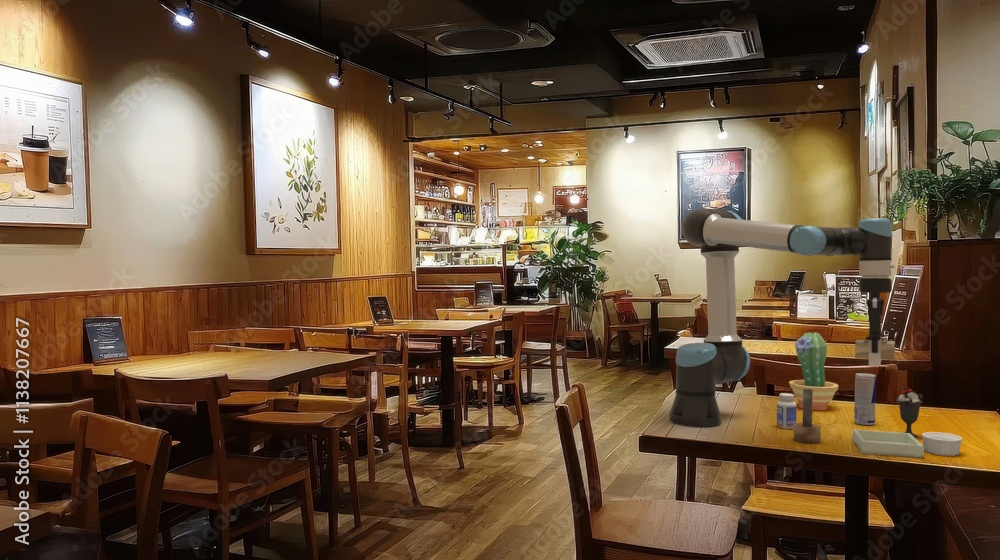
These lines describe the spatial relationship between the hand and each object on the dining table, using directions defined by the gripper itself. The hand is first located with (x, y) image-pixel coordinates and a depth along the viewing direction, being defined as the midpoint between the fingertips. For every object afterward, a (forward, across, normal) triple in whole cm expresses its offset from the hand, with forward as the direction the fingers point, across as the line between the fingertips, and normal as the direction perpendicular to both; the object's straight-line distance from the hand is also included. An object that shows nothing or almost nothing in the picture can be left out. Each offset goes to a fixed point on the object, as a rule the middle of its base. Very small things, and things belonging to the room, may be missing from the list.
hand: (875, 363), depth 192 cm
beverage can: (+22, +30, +4) cm, 38 cm away
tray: (+22, +1, -3) cm, 23 cm away
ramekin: (+23, +4, -15) cm, 28 cm away
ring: (-2, 0, 0) cm, 2 cm away
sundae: (+23, +19, -8) cm, 31 cm away
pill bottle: (+22, +14, +24) cm, 35 cm away
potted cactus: (+22, +48, +20) cm, 56 cm away
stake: (+22, 0, +16) cm, 28 cm away
